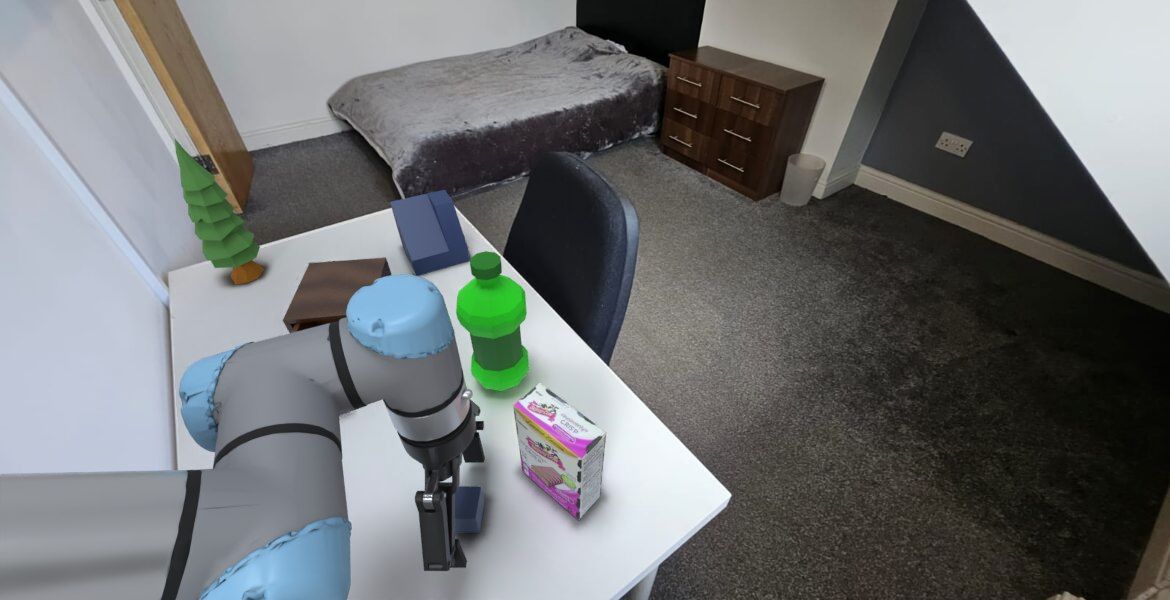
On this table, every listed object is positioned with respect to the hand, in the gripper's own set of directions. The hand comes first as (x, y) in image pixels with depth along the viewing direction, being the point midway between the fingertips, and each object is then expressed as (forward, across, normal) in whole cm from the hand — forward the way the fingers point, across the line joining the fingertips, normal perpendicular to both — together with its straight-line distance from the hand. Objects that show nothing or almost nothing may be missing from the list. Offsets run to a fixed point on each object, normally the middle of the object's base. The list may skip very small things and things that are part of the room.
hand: (466, 508), depth 61 cm
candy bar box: (+3, +4, -12) cm, 13 cm away
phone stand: (+2, +60, +18) cm, 62 cm away
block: (+2, 0, 0) cm, 2 cm away
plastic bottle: (+3, +24, -1) cm, 24 cm away
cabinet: (+2, +36, +28) cm, 46 cm away
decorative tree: (+2, +51, +57) cm, 76 cm away
